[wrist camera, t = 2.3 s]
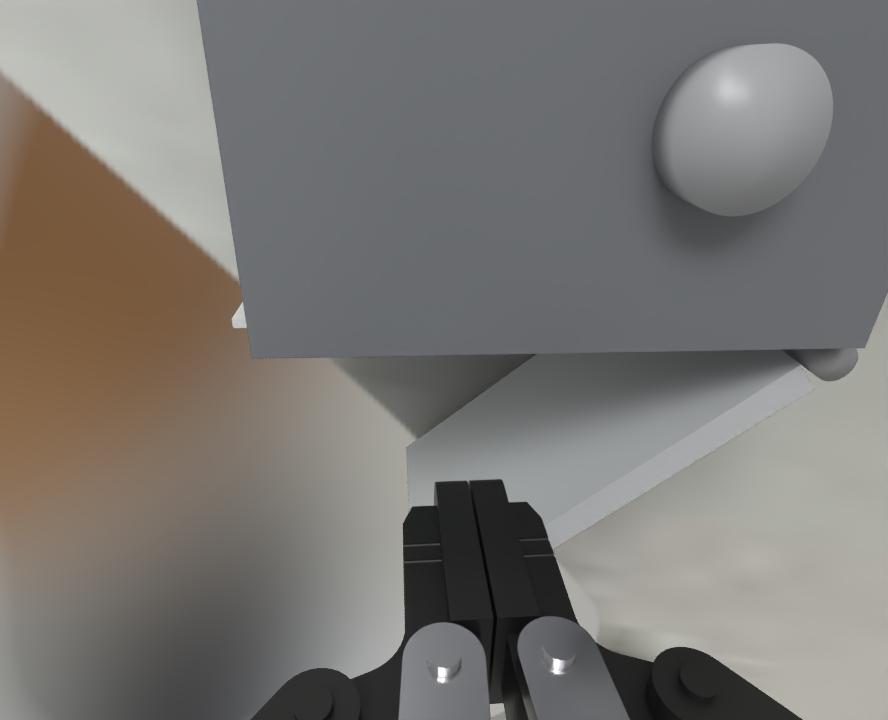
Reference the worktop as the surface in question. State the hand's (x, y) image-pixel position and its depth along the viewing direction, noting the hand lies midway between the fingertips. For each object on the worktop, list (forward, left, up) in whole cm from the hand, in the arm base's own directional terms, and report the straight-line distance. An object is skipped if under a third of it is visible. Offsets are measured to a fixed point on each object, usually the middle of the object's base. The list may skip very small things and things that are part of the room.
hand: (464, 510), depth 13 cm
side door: (0, +4, -8) cm, 8 cm away
